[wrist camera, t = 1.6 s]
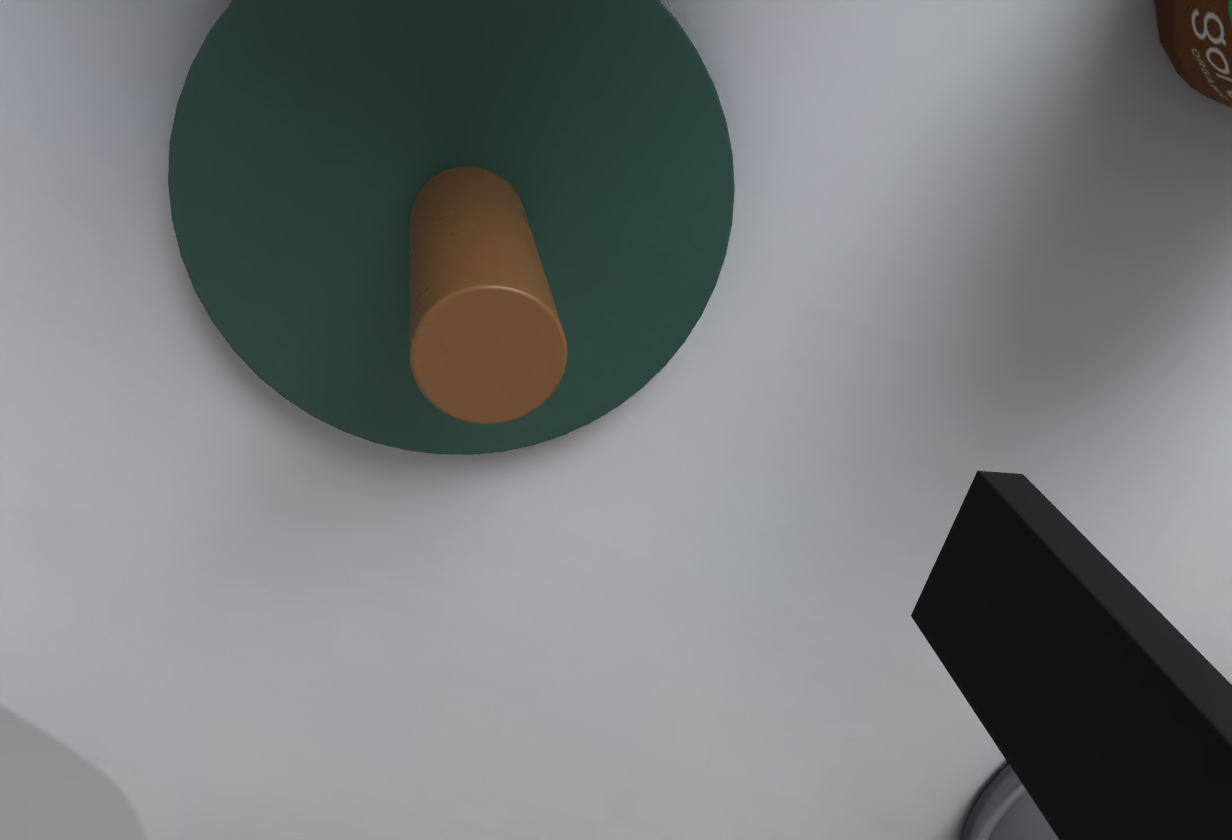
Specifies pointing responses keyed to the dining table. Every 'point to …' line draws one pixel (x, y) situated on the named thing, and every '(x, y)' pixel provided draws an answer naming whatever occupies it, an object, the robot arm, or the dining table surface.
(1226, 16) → the food container
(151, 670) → the dining table surface
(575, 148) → the canister lid
